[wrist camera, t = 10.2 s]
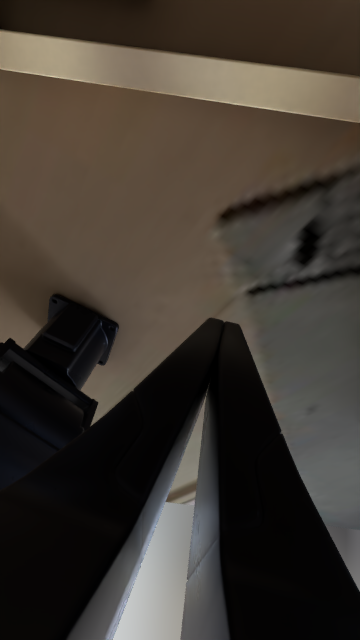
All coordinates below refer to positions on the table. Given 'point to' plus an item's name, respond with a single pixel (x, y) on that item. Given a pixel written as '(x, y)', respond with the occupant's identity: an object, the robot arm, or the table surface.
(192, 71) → the corner bracket
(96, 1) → the table surface
